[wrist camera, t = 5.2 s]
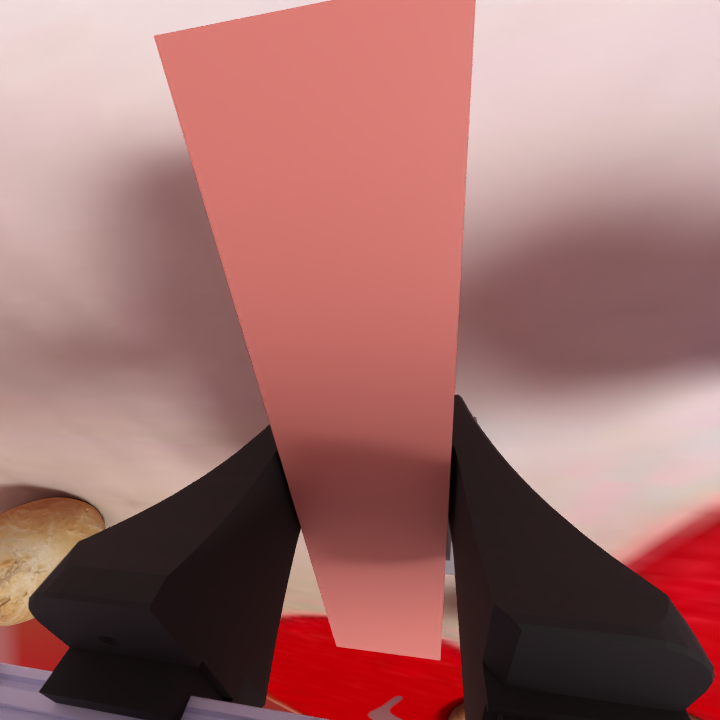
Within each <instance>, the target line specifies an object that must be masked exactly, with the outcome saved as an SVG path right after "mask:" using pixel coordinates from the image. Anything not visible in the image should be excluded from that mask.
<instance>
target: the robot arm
mask: <svg viewBox="0 0 720 720" xmlns="http://www.w3.org/2000/svg"><path fill="white" fill-rule="evenodd" d="M448 521H449V527H450V533H451V539H452V547H453V556H454V569H455V581H456V595H457V608H458V621H459V635H460V650H461V664H462V679H463V695H464V711H465V720H691V719H690V717H689V715H688V713H687V711H686V708H688V707H689V706H690V705H691V704H692V703H693V702H694V701H696V700H697V699H698V698H699V697H700V696H701V695H702V694H704V693H705V692H706V691H707V690H708V688H709V687H710V685H711V684H712V682H713V680H714V677H715V675H714V667H713V665H712V663H711V662H710V660H709V658H708V657H707V655H706V653H705V651H704V650H703V648H702V646H701V645H700V643H699V641H698V640H697V638H696V636H695V635H694V633H693V632H692V630H691V628H690V627H689V625H688V624H687V622H686V621H685V619H684V618H683V617H682V615H681V614H680V613H679V611H678V610H677V608H676V607H675V606H674V604H673V603H672V601H671V600H670V598H669V597H668V595H666V594H665V593H664V592H662V591H661V590H659V589H658V588H656V587H655V586H654V585H652V584H651V583H649V582H648V581H646V580H645V579H644V578H642V577H641V576H639V575H638V574H636V573H635V572H634V571H632V570H631V569H629V568H628V567H626V566H625V565H624V564H622V563H621V562H619V561H618V560H616V559H615V558H614V557H612V556H611V555H610V554H608V553H607V552H606V551H604V550H603V549H602V548H600V547H599V546H598V545H597V544H595V543H594V542H593V541H591V540H590V539H589V538H588V537H586V536H585V535H584V534H582V533H581V532H580V531H579V530H578V529H577V528H575V527H574V526H573V525H572V524H571V523H570V522H568V521H567V520H566V519H565V518H564V517H563V516H561V515H560V514H559V513H558V512H557V511H556V510H554V509H553V508H552V507H551V506H550V505H549V504H548V503H547V502H546V501H545V500H543V499H542V498H541V497H540V496H539V495H538V494H537V493H536V492H535V491H534V490H533V489H532V488H531V487H530V486H529V485H528V484H527V483H526V482H525V481H524V480H523V479H522V478H521V477H520V476H519V474H518V473H517V472H516V471H515V470H514V469H513V468H512V467H511V466H510V465H509V463H508V462H507V461H506V460H505V459H504V457H503V456H502V455H501V454H500V453H499V452H498V450H497V449H496V448H495V447H494V445H493V444H492V443H491V441H490V440H489V439H488V437H487V436H486V435H485V433H484V432H483V431H482V429H481V428H480V426H479V425H478V423H477V422H476V420H475V419H474V417H473V416H472V414H471V413H470V411H469V409H468V408H467V406H466V404H465V402H464V401H463V399H462V397H461V396H459V395H454V412H453V430H452V449H451V468H450V486H449V505H448ZM300 530H301V526H300V523H299V519H298V516H297V513H296V509H295V506H294V503H293V499H292V496H291V493H290V489H289V486H288V483H287V479H286V476H285V472H284V469H283V466H282V462H281V459H280V456H279V452H278V449H277V446H276V442H275V439H274V436H273V432H272V429H271V426H270V425H268V426H267V427H266V428H265V429H264V430H263V431H262V432H261V433H259V434H258V435H257V436H256V437H255V438H253V439H252V440H251V441H250V442H249V443H248V444H246V445H245V446H244V447H243V448H242V449H240V450H239V451H238V452H237V453H235V454H234V455H233V456H231V457H230V458H229V459H227V460H226V461H225V462H223V463H222V464H220V465H219V466H218V467H216V468H215V469H213V470H212V471H210V472H209V473H207V474H206V475H204V476H203V477H201V478H200V479H198V480H196V481H195V482H193V483H192V484H190V485H188V486H187V487H185V488H183V489H182V490H180V491H179V492H177V493H175V494H174V495H172V496H170V497H168V498H167V499H165V500H163V501H161V502H159V503H158V504H156V505H154V506H152V507H150V508H148V509H146V510H144V511H142V512H140V513H138V514H137V515H135V516H133V517H130V518H128V519H126V520H124V521H122V522H120V523H118V524H116V525H114V526H111V527H109V528H107V529H105V530H103V531H101V532H98V533H96V534H94V535H92V536H90V537H87V538H85V539H83V540H80V541H78V542H77V544H76V545H75V546H74V547H73V548H72V549H71V550H70V552H69V553H68V554H67V555H66V556H65V557H64V558H63V560H62V561H61V562H60V563H59V564H58V565H57V566H56V568H55V569H54V570H53V571H52V572H51V573H50V574H49V576H48V577H47V578H46V579H45V580H44V581H43V582H42V583H41V585H40V586H39V587H38V588H37V589H36V590H35V591H34V593H33V594H32V595H31V596H30V597H29V602H28V609H29V611H30V612H31V614H32V616H33V617H34V618H36V619H37V620H38V621H39V622H40V623H41V624H42V625H43V626H44V627H46V628H47V629H48V630H49V631H51V632H52V633H53V634H54V635H55V636H57V637H58V638H59V639H60V640H62V641H63V642H64V643H65V644H66V645H68V646H69V647H70V648H69V650H68V651H67V652H66V654H65V655H64V657H63V658H62V659H61V661H60V662H59V664H58V665H57V667H56V668H55V669H54V671H53V672H51V671H45V670H39V669H33V668H28V667H21V666H16V665H10V664H4V663H0V720H328V719H323V718H317V717H311V716H305V715H300V714H294V713H288V712H282V711H276V710H270V709H265V708H262V707H263V706H264V705H265V702H266V696H267V689H268V683H269V678H270V672H271V666H272V660H273V655H274V649H275V643H276V638H277V633H278V628H279V623H280V618H281V613H282V607H283V602H284V598H285V593H286V588H287V584H288V579H289V575H290V570H291V566H292V561H293V557H294V553H295V549H296V544H297V540H298V537H299V533H300Z"/></svg>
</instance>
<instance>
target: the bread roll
mask: <svg viewBox="0 0 720 720" xmlns="http://www.w3.org/2000/svg"><path fill="white" fill-rule="evenodd" d="M103 530H105V523H104V521H103V520H102V518H101V515H100V514H99V512H98V511H97V510H96V509H95V508H94V507H93V506H91V505H90V504H88V503H86V502H83V501H80V500H76V499H71V498H59V497H55V498H46V499H40V500H36V501H32V502H29V503H26V504H23V505H20V506H17V507H14V508H12V509H9V510H7V511H5V512H3V513H1V514H0V626H9V625H14V624H18V623H21V622H25V621H27V620H30V619H33V618H34V617H33V616H32V614H31V612H30V611H29V609H28V602H29V597H30V596H31V595H32V594H33V593H34V591H35V590H36V589H37V588H38V587H39V586H40V585H41V583H42V582H43V581H44V580H45V579H46V578H47V577H48V576H49V574H50V573H51V572H52V571H53V570H54V569H55V568H56V566H57V565H58V564H59V563H60V562H61V561H62V560H63V558H64V557H65V556H66V555H67V554H68V553H69V552H70V550H71V549H72V548H73V547H74V546H75V545H76V544H77V542H78V541H80V540H83V539H85V538H87V537H90V536H92V535H94V534H96V533H98V532H101V531H103Z"/></svg>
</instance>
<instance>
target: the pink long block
mask: <svg viewBox="0 0 720 720" xmlns="http://www.w3.org/2000/svg"><path fill="white" fill-rule="evenodd" d="M475 1H476V0H331V1H326V2H321V3H316V4H311V5H306V6H301V7H296V8H291V9H286V10H281V11H276V12H271V13H266V14H261V15H256V16H251V17H246V18H241V19H236V20H231V21H226V22H221V23H216V24H211V25H206V26H201V27H196V28H191V29H186V30H181V31H176V32H171V33H166V34H161V35H156V36H154V38H155V42H156V45H157V48H158V52H159V55H160V58H161V62H162V65H163V68H164V72H165V75H166V78H167V82H168V85H169V88H170V92H171V95H172V98H173V102H174V105H175V108H176V112H177V115H178V118H179V122H180V125H181V128H182V132H183V135H184V138H185V142H186V145H187V148H188V152H189V155H190V159H191V162H192V165H193V169H194V172H195V175H196V179H197V182H198V185H199V189H200V192H201V195H202V199H203V202H204V205H205V209H206V212H207V215H208V219H209V222H210V225H211V229H212V232H213V235H214V239H215V242H216V245H217V249H218V252H219V255H220V259H221V262H222V265H223V269H224V272H225V275H226V279H227V282H228V285H229V289H230V292H231V295H232V299H233V302H234V305H235V309H236V312H237V316H238V319H239V322H240V326H241V329H242V332H243V336H244V339H245V342H246V346H247V349H248V352H249V356H250V359H251V362H252V366H253V369H254V372H255V376H256V379H257V382H258V386H259V389H260V392H261V396H262V399H263V402H264V406H265V409H266V412H267V416H268V419H269V422H270V426H271V429H272V432H273V436H274V439H275V442H276V446H277V449H278V452H279V456H280V459H281V462H282V466H283V469H284V472H285V476H286V479H287V483H288V486H289V489H290V493H291V496H292V499H293V503H294V506H295V509H296V513H297V516H298V519H299V523H300V526H301V529H302V533H303V536H304V539H305V543H306V546H307V549H308V553H309V556H310V559H311V563H312V566H313V569H314V573H315V576H316V579H317V583H318V586H319V589H320V593H321V596H322V599H323V603H324V606H325V609H326V613H327V616H328V619H329V623H330V626H331V629H332V633H333V636H334V639H335V643H336V646H337V647H345V648H352V649H360V650H367V651H374V652H382V653H389V654H397V655H404V656H412V657H419V658H426V659H434V660H440V655H441V636H442V617H443V598H444V580H445V561H446V542H447V524H448V505H449V486H450V468H451V449H452V430H453V412H454V393H455V374H456V356H457V337H458V318H459V300H460V281H461V262H462V244H463V225H464V206H465V188H466V169H467V150H468V132H469V113H470V94H471V75H472V57H473V38H474V19H475Z"/></svg>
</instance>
